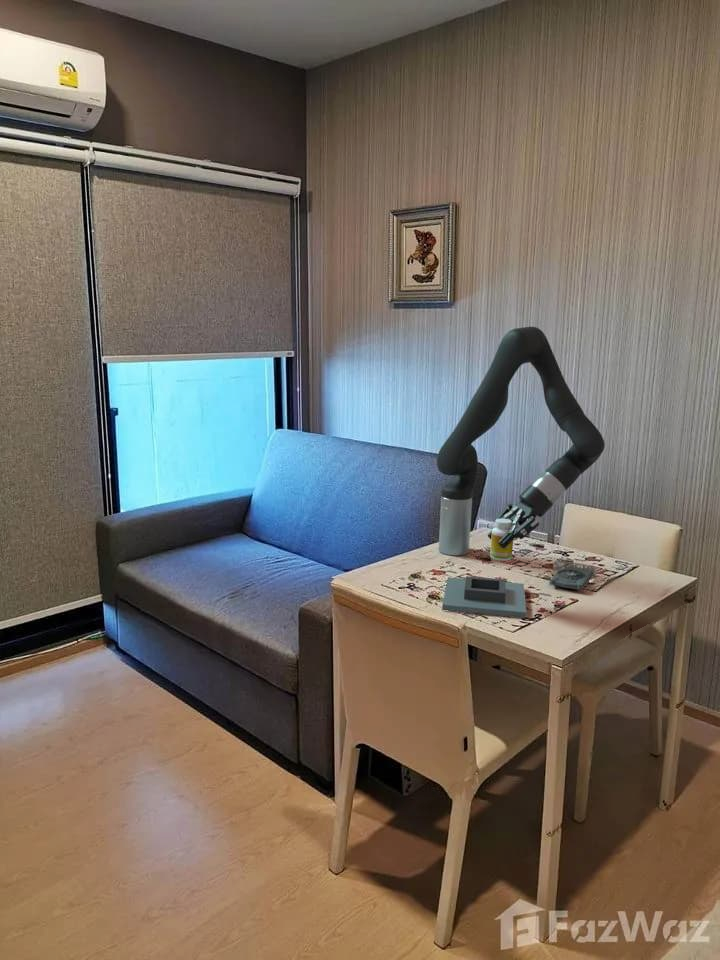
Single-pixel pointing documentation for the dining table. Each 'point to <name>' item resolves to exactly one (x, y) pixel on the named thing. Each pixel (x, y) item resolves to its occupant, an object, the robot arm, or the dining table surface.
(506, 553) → the supplement bottle
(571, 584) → the graphics card
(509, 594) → the socket board
